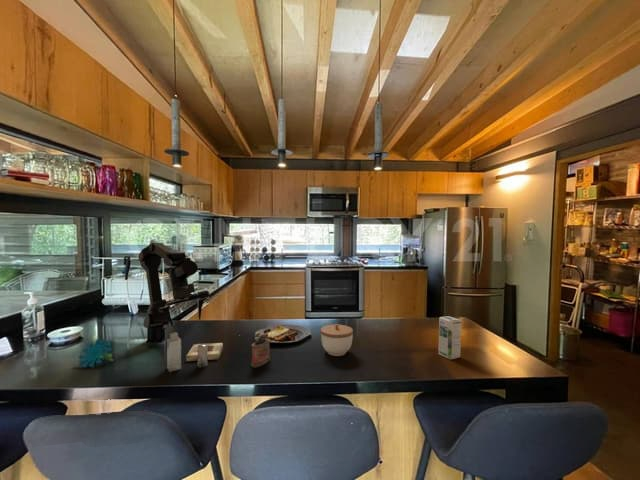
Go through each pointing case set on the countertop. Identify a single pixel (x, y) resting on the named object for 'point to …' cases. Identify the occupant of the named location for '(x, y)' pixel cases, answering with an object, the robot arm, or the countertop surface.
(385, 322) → the countertop surface
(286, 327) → the food plate
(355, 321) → the countertop surface
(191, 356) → the socket block
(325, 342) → the lidded bowl
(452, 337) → the syrup box
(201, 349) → the round peg
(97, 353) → the teal lumpy clump
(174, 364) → the square bit
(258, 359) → the lighter
